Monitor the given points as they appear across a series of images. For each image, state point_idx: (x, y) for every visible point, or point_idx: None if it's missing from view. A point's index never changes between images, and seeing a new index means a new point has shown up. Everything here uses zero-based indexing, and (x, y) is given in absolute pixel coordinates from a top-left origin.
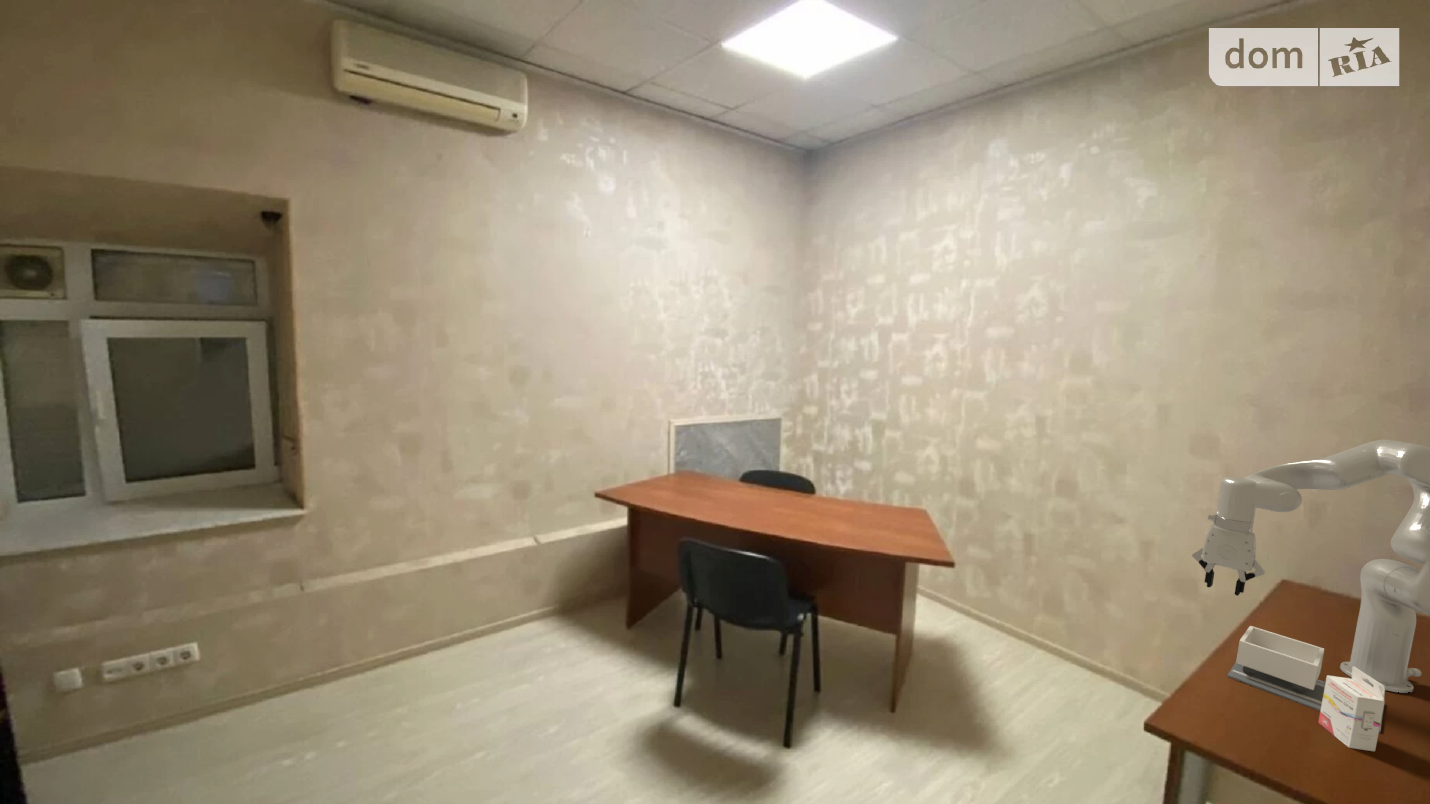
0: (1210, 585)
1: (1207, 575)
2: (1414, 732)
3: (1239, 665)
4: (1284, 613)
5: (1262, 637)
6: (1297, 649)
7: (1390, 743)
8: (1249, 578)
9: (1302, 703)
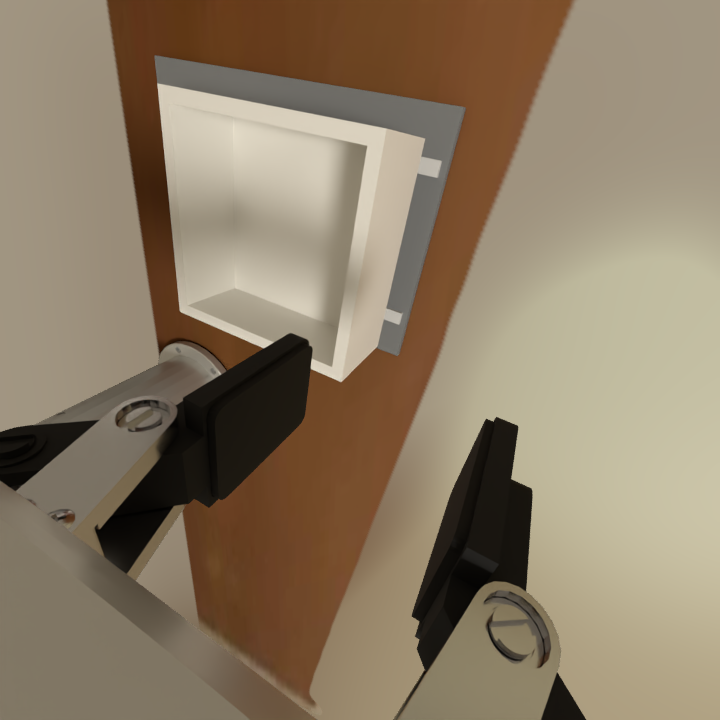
0: (480, 434)
1: (504, 550)
2: (133, 148)
3: (412, 250)
4: (313, 601)
5: (320, 345)
6: (246, 313)
7: (141, 3)
8: (78, 429)
9: (280, 76)
